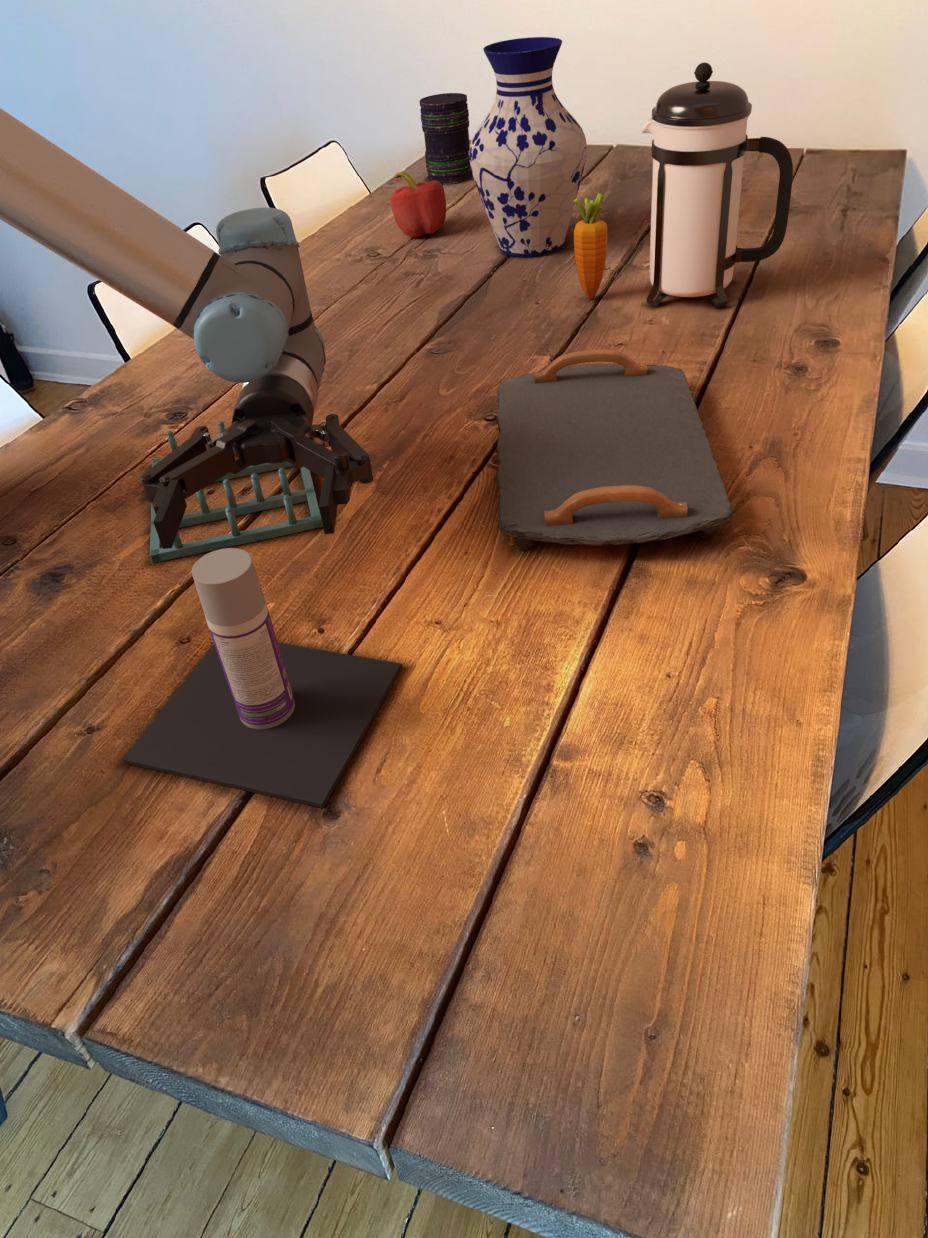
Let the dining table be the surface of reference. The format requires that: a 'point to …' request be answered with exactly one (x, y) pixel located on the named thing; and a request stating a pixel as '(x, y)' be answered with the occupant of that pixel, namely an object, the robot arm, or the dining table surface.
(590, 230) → the carrot
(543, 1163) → the dining table surface
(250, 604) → the container
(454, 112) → the storage jar
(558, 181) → the vase
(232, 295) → the robot arm
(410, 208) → the vegetable
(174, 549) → the dish rack
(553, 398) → the serving tray
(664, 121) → the coffee press
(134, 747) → the mat
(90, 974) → the dining table surface
